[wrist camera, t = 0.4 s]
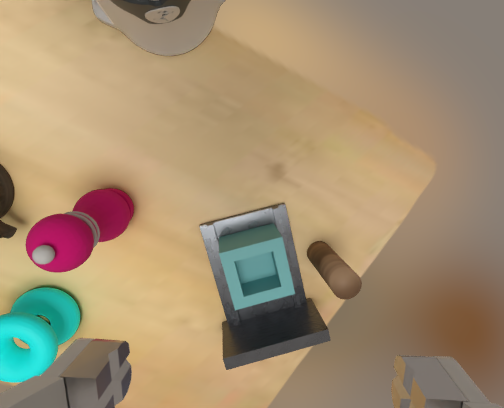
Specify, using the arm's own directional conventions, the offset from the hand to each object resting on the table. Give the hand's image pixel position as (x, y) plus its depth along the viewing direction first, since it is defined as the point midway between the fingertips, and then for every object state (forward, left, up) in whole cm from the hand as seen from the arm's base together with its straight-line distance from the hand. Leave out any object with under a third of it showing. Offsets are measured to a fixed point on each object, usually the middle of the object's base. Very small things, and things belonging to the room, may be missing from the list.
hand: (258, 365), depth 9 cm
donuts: (+14, -33, -40) cm, 54 cm away
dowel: (+16, +12, -40) cm, 44 cm away
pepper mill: (0, -18, -40) cm, 44 cm away
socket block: (+13, +1, -39) cm, 41 cm away
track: (+16, +1, -40) cm, 43 cm away
